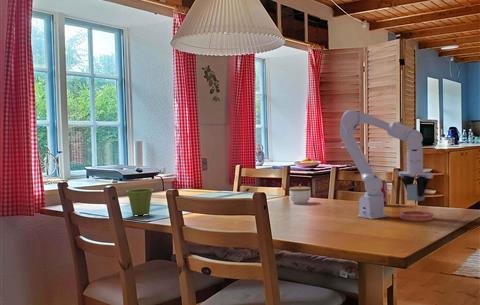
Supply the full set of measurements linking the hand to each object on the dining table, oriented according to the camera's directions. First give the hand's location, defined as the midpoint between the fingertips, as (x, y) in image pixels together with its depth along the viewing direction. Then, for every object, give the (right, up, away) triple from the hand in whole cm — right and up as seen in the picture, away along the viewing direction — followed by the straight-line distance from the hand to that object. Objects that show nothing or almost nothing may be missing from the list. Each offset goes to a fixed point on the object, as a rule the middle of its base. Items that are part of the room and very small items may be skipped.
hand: (415, 195), depth 181 cm
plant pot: (-113, -11, +26) cm, 116 cm away
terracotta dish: (0, -9, -1) cm, 9 cm away
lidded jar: (-38, -9, +50) cm, 63 cm away
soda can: (-4, -8, +35) cm, 36 cm away
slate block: (0, -2, 0) cm, 2 cm away
